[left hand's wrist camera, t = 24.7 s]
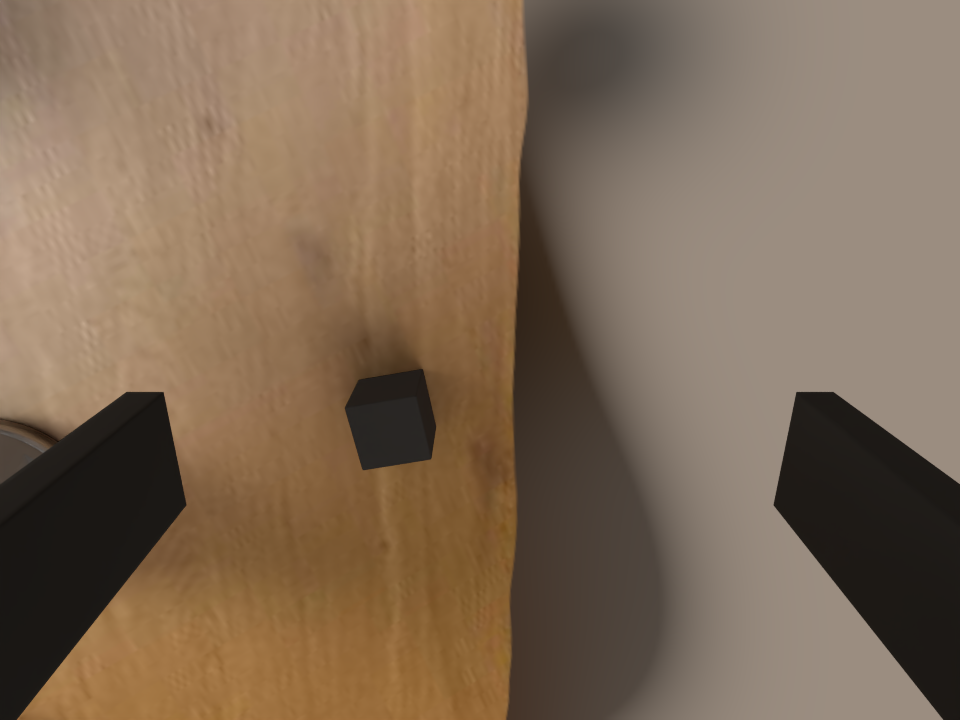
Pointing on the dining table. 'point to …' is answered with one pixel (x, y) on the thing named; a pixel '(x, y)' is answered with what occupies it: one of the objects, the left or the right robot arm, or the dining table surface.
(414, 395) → the rubber block
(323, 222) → the dining table surface
